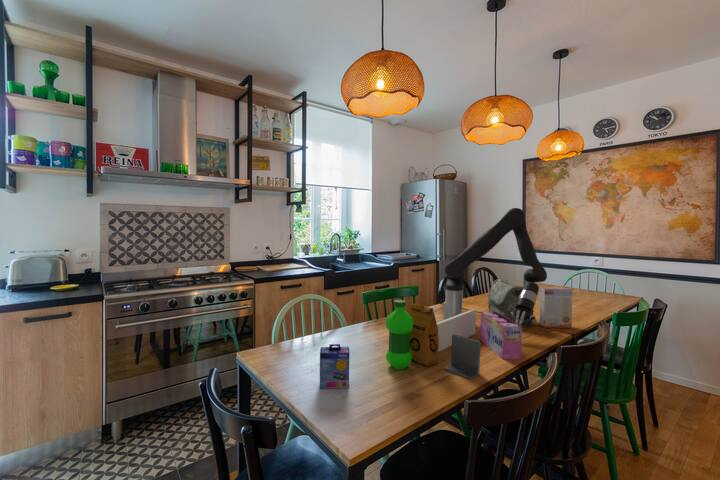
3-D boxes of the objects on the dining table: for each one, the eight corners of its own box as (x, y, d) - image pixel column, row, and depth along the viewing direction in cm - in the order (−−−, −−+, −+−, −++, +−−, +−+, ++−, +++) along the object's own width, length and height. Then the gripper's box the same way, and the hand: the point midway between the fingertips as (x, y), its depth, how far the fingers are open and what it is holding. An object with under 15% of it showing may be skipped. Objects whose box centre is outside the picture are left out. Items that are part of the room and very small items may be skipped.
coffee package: (425, 369, 124) (426, 310, 123) (402, 358, 134) (403, 304, 133) (443, 362, 129) (444, 307, 128) (419, 352, 140) (420, 300, 138)
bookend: (444, 370, 123) (445, 338, 122) (453, 364, 128) (453, 334, 127) (471, 379, 116) (471, 345, 115) (479, 373, 120) (480, 341, 120)
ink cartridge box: (319, 389, 108) (319, 345, 107) (319, 381, 113) (320, 339, 113) (349, 388, 109) (349, 345, 108) (348, 380, 114) (349, 339, 114)
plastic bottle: (406, 374, 119) (407, 305, 118) (380, 367, 125) (381, 301, 123) (417, 364, 127) (418, 300, 126) (392, 358, 133) (393, 297, 132)
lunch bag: (484, 313, 201) (484, 277, 200) (514, 314, 201) (515, 278, 200) (501, 327, 175) (502, 286, 174) (536, 327, 175) (537, 286, 174)
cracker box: (565, 325, 179) (567, 286, 178) (571, 328, 173) (573, 289, 172) (538, 324, 181) (540, 286, 180) (543, 327, 175) (545, 288, 174)
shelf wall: (427, 354, 137) (427, 326, 137) (472, 332, 165) (473, 309, 165) (430, 356, 136) (430, 327, 135) (475, 333, 164) (475, 309, 164)
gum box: (478, 339, 157) (478, 310, 156) (494, 338, 157) (495, 310, 157) (502, 359, 133) (503, 326, 132) (521, 359, 134) (522, 326, 133)
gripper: (510, 295, 164) (499, 324, 156) (539, 299, 155) (529, 331, 147) (514, 303, 168) (503, 333, 160) (542, 308, 159) (533, 340, 151)
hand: (516, 332), depth 153 cm, fingers closed
